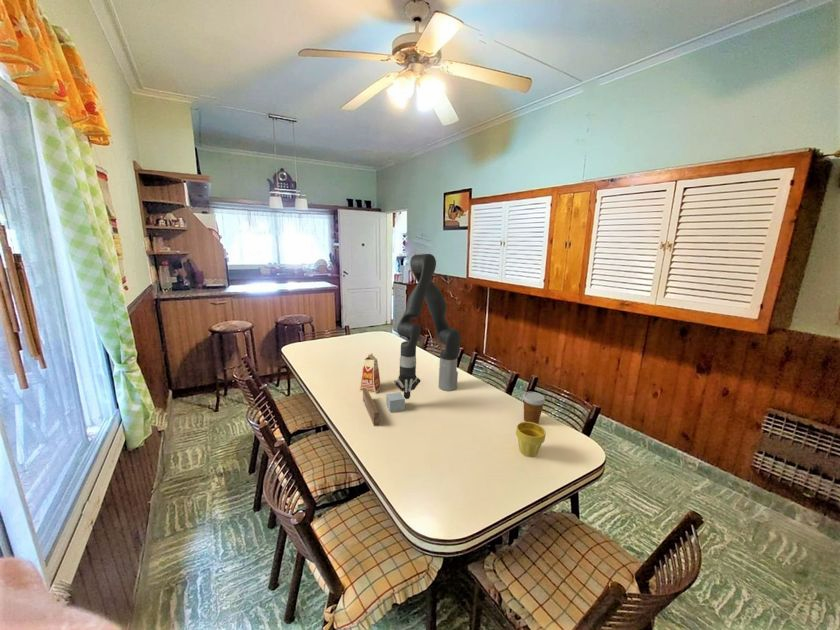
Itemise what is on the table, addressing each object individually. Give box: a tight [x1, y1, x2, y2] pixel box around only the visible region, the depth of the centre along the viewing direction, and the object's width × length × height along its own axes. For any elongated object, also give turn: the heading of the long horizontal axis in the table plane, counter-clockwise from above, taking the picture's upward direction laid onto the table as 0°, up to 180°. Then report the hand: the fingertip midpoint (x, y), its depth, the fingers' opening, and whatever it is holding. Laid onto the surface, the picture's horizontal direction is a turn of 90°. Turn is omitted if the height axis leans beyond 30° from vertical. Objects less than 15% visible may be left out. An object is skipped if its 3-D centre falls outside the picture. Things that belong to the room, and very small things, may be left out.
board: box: [362, 388, 379, 427], centre depth 148 cm, size 2×24×6 cm, turn 21°
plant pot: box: [515, 421, 547, 458], centre depth 123 cm, size 10×10×10 cm
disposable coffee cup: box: [522, 391, 546, 425], centre depth 144 cm, size 10×10×12 cm
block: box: [385, 391, 406, 413], centre depth 152 cm, size 7×7×6 cm
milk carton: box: [358, 352, 381, 395], centre depth 169 cm, size 9×9×20 cm
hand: (406, 398), depth 154 cm, fingers closed
